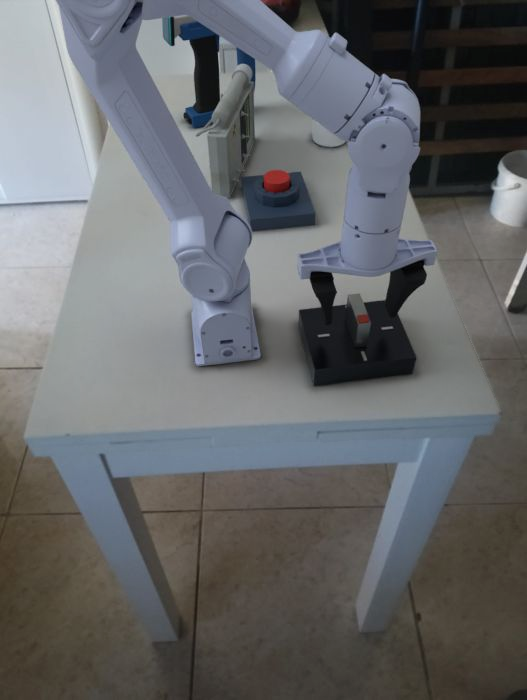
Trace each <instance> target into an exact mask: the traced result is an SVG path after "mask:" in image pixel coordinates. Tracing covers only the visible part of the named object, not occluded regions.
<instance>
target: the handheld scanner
mask: <svg viewBox="0 0 527 700" xmlns="http://www.w3.org/2000/svg"><path fill="white" fill-rule="evenodd" d="M161 20H162V21H161V22H162V23H161V24H162V38H163V40H164V41H165V42H166V43H167V44H168V45H169V46H170V47H175V46H176V44H175V43H176V42H175V41H176V40H175V39H176V38H177V37H179V38H180V39H181V41H189V45H190V47H191V49H192V52H193V57H194V69H193V84H194V85H193V86H194V95H195V103H194V104H193V105H192V106H188V107H185V108H184V111H185V112H183V116H182V117H183V119H184V120H185V122H186V123H187V124H189V125H191V127H192V128H193V129H197V128H201V127H205V125H206V124H207V123H208V122H209V121H210V120H211V119H212V114H213V112H214V111H215V109H216V107H217V105H218V103H219V102H220V100H221V87H220V84H221V83H220V64H219V52H220V37H221V36H219V35H218V34H216V33H215V32H213V31H212V30H210V29H209V28H207V27H206V26H204V25H203V24H201V23H199V22H198V21H196V20H195V19H193V18H192V17H190V16H188V15H180V16H173V17H166V18H161ZM235 49H236V64H237V65H236V67H237V66H238V65H240V64H246V65H248V66H249V67H250V68H251V70H252V73H253V74H252V78H251V80H250V81H251V82H254V91H255V90H256V59H254V58H253V57H251V56H250V55H248V54H247V53H245V52H244V51H242V50H241V49H239V48H238V47H236V46H235ZM210 125H213V122H212V123H211V124H210Z"/></svg>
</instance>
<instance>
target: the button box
mask: <svg viewBox="0 0 527 700" xmlns="http://www.w3.org/2000/svg"><path fill="white" fill-rule="evenodd" d="M287 173H288V174H289V176H290V187H289V189H288V190H286V191H284V192H279V193H274V192H269V191H267V190H265V188H264V175H265V174H260V175H250V176H249V175H247V176H240V185H241V187H240V188H241V192H242V198H243V203H244V206H245V210H246V217H247V222H248V223H249V224H250V226H251V229H252V232H258V231H259V232H261V231H268V230H269V231H270V230H278V229H291V228H300V227H309V226H315V225H316V224H315V223H316V211H315V208H314V205H313V202H312V200H311V196H310V194H309V191H308V188H307V185H306V182H305V179H304V177H303V174H302V172H301V171H293V172H292V171H291V172H287Z"/></svg>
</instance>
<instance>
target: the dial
mask: <svg viewBox="0 0 527 700" xmlns="http://www.w3.org/2000/svg"><path fill="white" fill-rule="evenodd" d="M363 302H364V300H363V298H362V296H361V293H359V292H358V293H350V294H347V297H346V304H347V305H346V304H345V305H346V312H345V321H346V324H347V327H348V330H349V333H350V336H351V338H352V341H353V344H354V347H355V348H359V347H367V343H368V337H369V332H370V326H371V321H370V319H369V316H368V313H367V311H366V308H365V306H364V303H363Z"/></svg>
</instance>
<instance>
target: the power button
mask: <svg viewBox="0 0 527 700" xmlns="http://www.w3.org/2000/svg"><path fill="white" fill-rule="evenodd" d="M288 173H289V172H287V171H285V170H282V169H272V170H269V171H267V172H266V173H265V174H263V175H264V188H265V190H267V191H269V192H274V193H279V192H284V191H286V190H288V189H289V187H290V176H289V174H288Z"/></svg>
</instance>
